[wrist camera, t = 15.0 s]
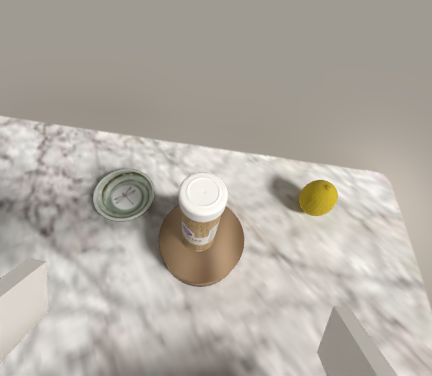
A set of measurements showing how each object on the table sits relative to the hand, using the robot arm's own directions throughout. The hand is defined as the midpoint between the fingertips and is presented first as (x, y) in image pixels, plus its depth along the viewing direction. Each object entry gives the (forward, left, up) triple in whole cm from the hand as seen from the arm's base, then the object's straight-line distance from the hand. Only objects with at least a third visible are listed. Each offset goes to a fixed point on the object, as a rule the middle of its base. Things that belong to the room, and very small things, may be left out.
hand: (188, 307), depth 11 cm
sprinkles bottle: (0, +9, -20) cm, 22 cm away
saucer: (-14, +16, -25) cm, 33 cm away
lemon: (+18, +20, -25) cm, 36 cm away
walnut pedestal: (0, +10, -25) cm, 26 cm away
